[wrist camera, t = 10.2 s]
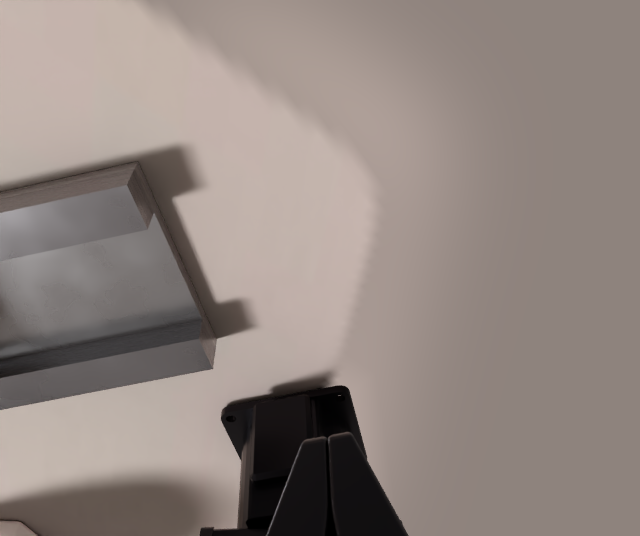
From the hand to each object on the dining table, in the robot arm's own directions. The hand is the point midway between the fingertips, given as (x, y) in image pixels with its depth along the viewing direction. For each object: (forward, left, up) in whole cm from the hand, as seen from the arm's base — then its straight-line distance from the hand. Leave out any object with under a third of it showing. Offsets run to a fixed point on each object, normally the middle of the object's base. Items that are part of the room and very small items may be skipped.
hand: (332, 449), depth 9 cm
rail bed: (-4, +14, -13) cm, 20 cm away
